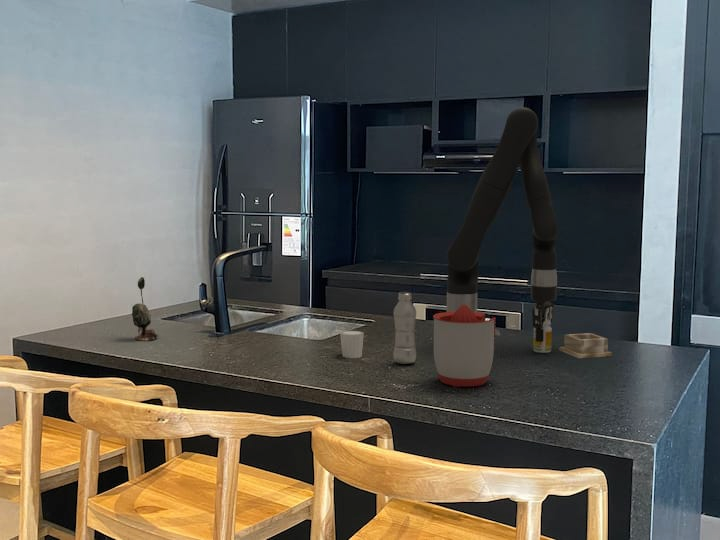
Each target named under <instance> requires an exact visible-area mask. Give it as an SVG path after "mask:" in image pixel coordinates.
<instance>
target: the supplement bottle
mask: <svg viewBox="0 0 720 540" xmlns="http://www.w3.org/2000/svg"><path fill="white" fill-rule="evenodd" d="M542 319H543V318H542ZM538 324H539V322H538ZM549 324H550V320H549V319H547V321H546V322H545V324H544V339H543V342H537V341H536V329H535V328H533V331H532V332H533V338H532V341H533V342H532V350H533V351H534V352H535V353H540V354H541V353H543V354H545V353H546V354H547V353H551V352H552V339H553V337H552V335H553V329H552V327H551V325H550V326H549Z"/></svg>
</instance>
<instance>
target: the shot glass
mask: <svg viewBox="0 0 720 540" xmlns="http://www.w3.org/2000/svg"><path fill="white" fill-rule="evenodd" d="M339 334H340V343H341V344H340V346H341V354H342V357H343V358H344V357H345V359H359V358H361V357H362V355H363V343H364V332H363V331H360V330H346V331H345V330H343V331H341V332H339Z"/></svg>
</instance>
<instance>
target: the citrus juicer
mask: <svg viewBox="0 0 720 540" xmlns="http://www.w3.org/2000/svg"><path fill="white" fill-rule="evenodd" d="M432 317H433V358H434V364H435V367H436V372H437V376H438V378H439V381H440V382H441V383H442V384H445V385H447V386H452V387H453V388H461V387H477V386H483V385H484V384H486V383H487V381H488V380H489V376H490V375H491V374H490V372H491V369H492V366H493V365H492V364H493V362H494V361H493V360H494V350H495V338H496V336H501V333H500V331H499V330H498V329H496V317H495V316H494V317H492V318H489V319H488V320H486V313H483V312H478V311H477V312H472V310H471V309H470V308H469V307H468V306H467V305H465V304H464V305H462V306H461V307H459V308H458V309H457V311H456V312H447V311H443V312H439V313H438V312H437V313H435V314H434V315H433V316H432Z"/></svg>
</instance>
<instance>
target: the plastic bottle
mask: <svg viewBox="0 0 720 540" xmlns="http://www.w3.org/2000/svg"><path fill="white" fill-rule="evenodd" d="M412 295H413V294H412V292H409V291H399V292H398V297H397V299H398V302H397V304H396V305H395V307H394V309H393V317H394V318H393V319H394V326H395V327H394V328H395V329H394V330H395V339H394V347H393V354H392V355H393V360H394V362H396V364H400V365H401V364H402V365H408V364H414V363H415V361H416V359H417V350H416V342H415V327H416V319H417V310H416V307H415V305H414V303H413V302H412V299H413V297H412Z"/></svg>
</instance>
